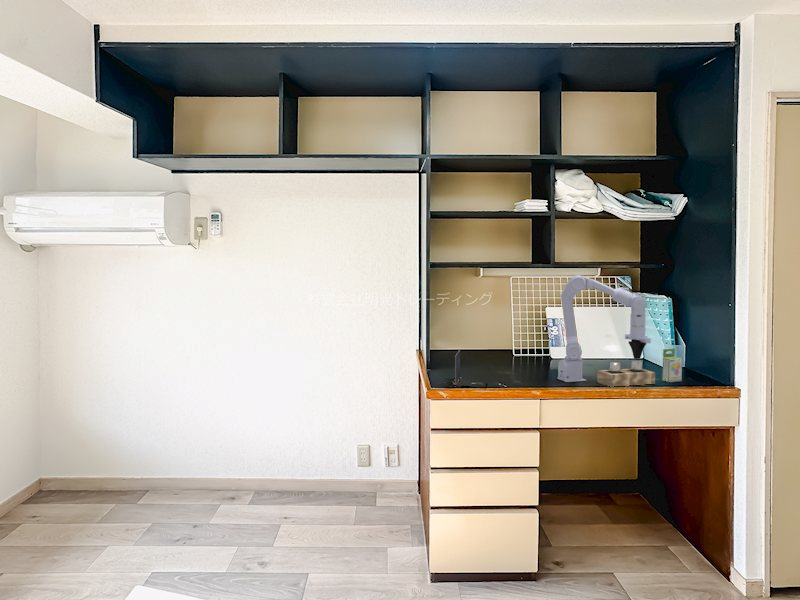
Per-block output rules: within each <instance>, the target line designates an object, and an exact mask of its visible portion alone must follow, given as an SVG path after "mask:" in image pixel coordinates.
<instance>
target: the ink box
mask: <svg viewBox="0 0 800 600" xmlns="http://www.w3.org/2000/svg"><path fill="white" fill-rule="evenodd" d="M662 351H663V352H662V374H661V376H662V377H661V381H662V382H665V381H666V382H665V383H669V382H670V383H675V382H682V377H683V375H682V372H683V367H682V366H683V365H682V364H683V358H682V357H680V356H675V355H676V354H675V353H676V352H675V351H676V348H664V349H662ZM668 352H671V353H668Z"/></svg>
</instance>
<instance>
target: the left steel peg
mask: <svg viewBox="0 0 800 600" xmlns="http://www.w3.org/2000/svg"><path fill="white" fill-rule="evenodd" d="M620 369H621V362H616V361H612V362H609V370H610V372H611V373H620Z"/></svg>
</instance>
